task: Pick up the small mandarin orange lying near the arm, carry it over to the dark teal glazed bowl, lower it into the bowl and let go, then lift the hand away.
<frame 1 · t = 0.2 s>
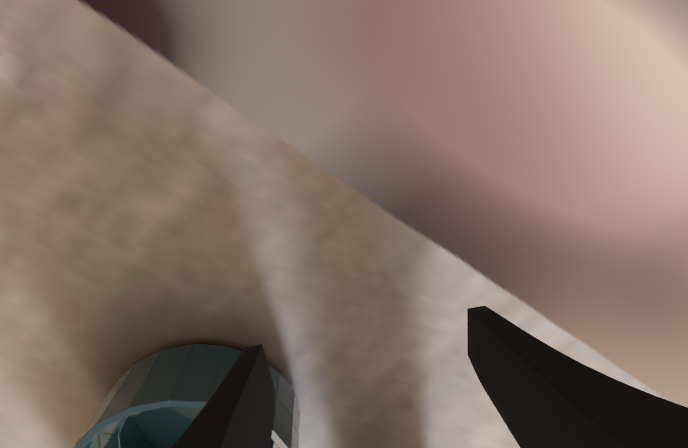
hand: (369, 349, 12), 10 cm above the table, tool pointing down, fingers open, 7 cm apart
bowl: (209, 410, 25), on the table
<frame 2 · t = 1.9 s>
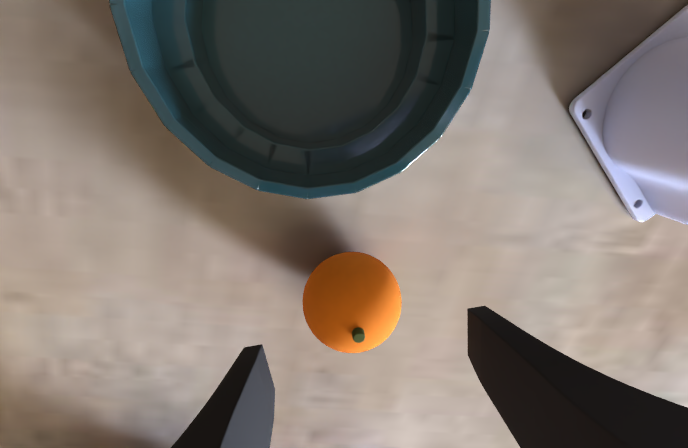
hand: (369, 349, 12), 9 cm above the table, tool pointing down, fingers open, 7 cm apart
bowl: (310, 37, 17), on the table
mandarin: (351, 300, 19), point 3 cm above the table
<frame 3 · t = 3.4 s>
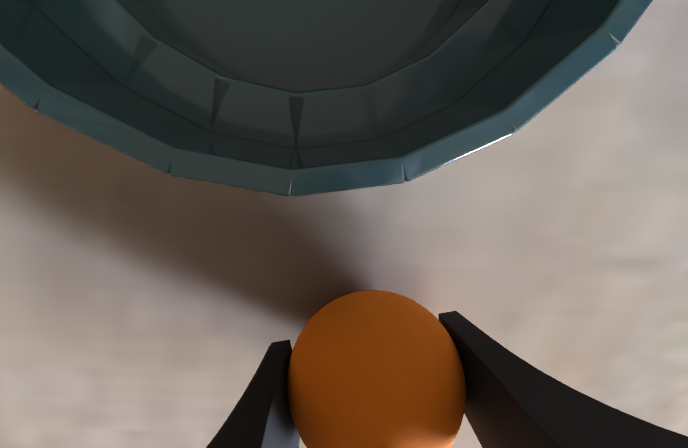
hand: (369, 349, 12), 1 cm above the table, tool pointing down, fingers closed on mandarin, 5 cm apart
mandarin: (374, 378, 11), point 3 cm above the table, touching gripper
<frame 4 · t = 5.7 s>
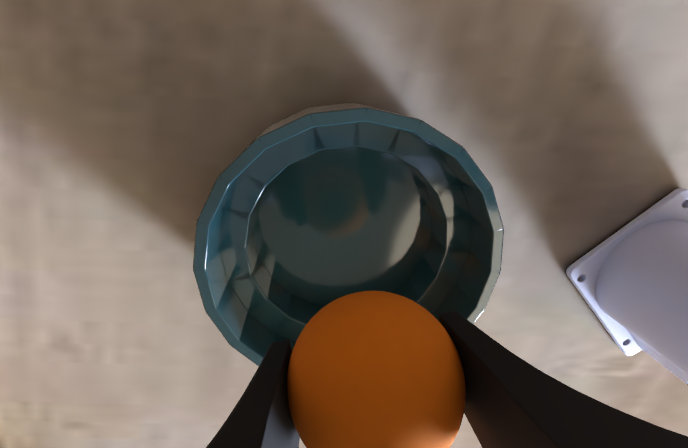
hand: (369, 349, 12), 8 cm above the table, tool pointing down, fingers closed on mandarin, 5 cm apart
bowl: (343, 227, 19), on the table
mandarin: (374, 378, 11), point 10 cm above the table, touching gripper
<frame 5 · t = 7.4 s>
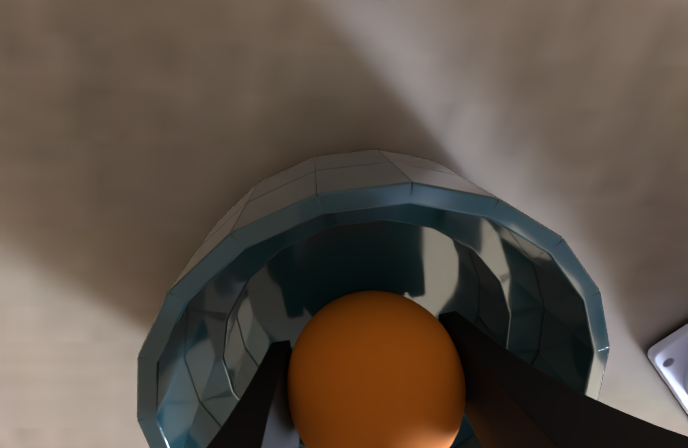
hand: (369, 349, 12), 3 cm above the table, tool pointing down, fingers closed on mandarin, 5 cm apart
bowl: (359, 306, 14), on the table
mandarin: (374, 378, 11), point 4 cm above the table, touching gripper
when the fingers open (2 cm above the table, at t = 8.1 s): mandarin moves 1 cm, resting on bowl.
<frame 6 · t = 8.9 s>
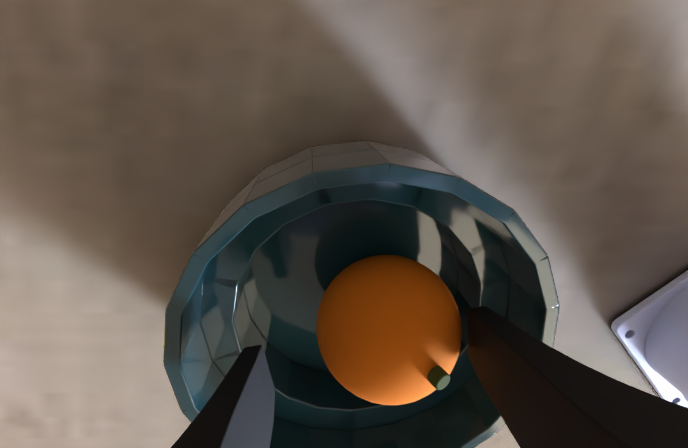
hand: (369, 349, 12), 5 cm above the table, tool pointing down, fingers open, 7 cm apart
bowl: (352, 281, 16), on the table
mandarin: (387, 325, 13), point 3 cm above the table, tilted 22°, touching bowl
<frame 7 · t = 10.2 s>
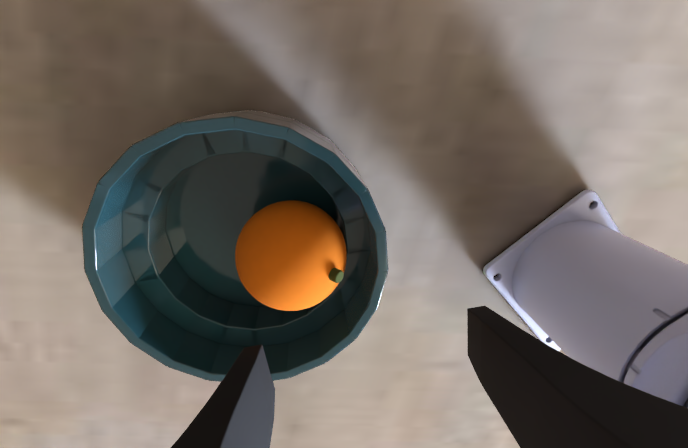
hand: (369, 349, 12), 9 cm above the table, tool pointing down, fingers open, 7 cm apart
bowl: (258, 228, 20), on the table
mandarin: (292, 254, 17), point 3 cm above the table, tilted 45°, touching bowl
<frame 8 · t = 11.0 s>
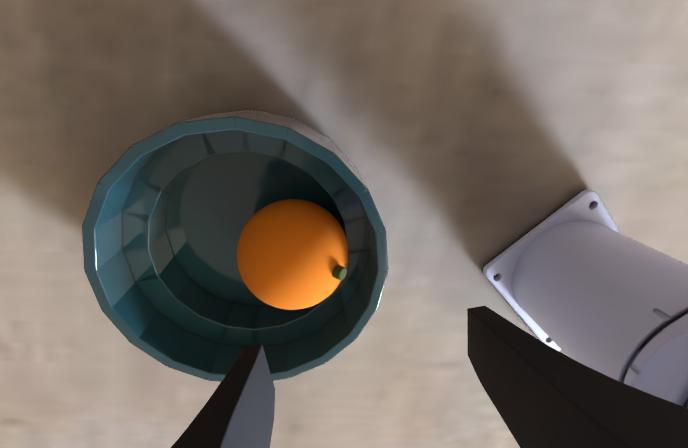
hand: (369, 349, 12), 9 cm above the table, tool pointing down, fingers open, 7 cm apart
bowl: (258, 228, 20), on the table
mandarin: (293, 253, 17), point 3 cm above the table, tilted 47°, touching bowl
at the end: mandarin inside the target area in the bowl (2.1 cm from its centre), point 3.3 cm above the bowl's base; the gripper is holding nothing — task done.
